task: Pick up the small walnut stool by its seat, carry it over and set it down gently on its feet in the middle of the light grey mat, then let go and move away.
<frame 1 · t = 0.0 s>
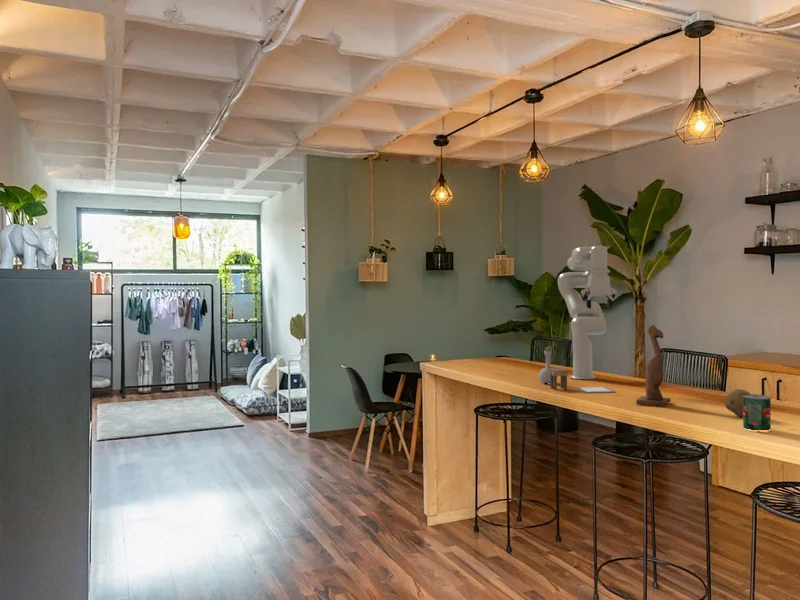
hand: (599, 308, 301), 37 cm above the table, tool pointing down, fingers open, 9 cm apart
bird sculpture: (653, 404, 254), on the table
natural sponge: (738, 417, 228), on the table
potion bottle: (548, 383, 311), on the table
stool: (558, 388, 294), on the table
mat: (595, 390, 288), on the table
canned tomato: (756, 430, 208), on the table
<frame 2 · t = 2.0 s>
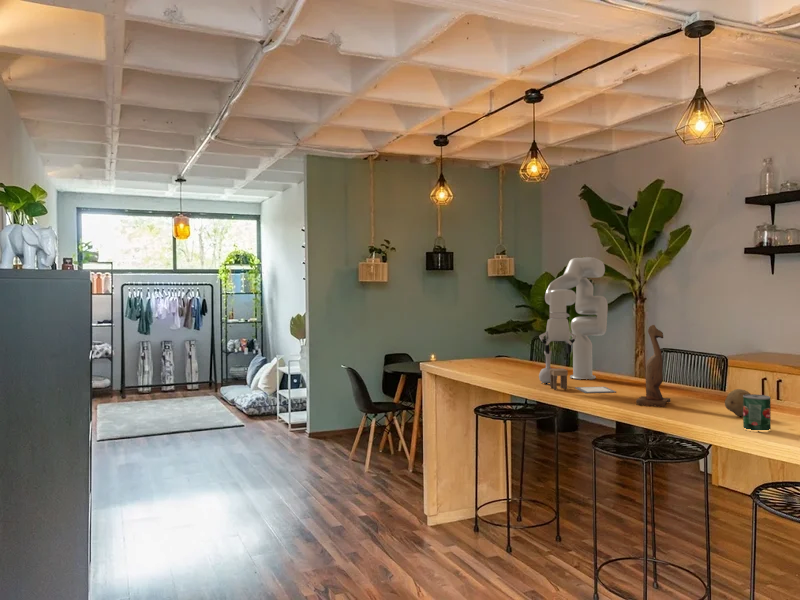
hand: (558, 353, 293), 16 cm above the table, tool pointing down, fingers open, 9 cm apart
nothing on the table moved.
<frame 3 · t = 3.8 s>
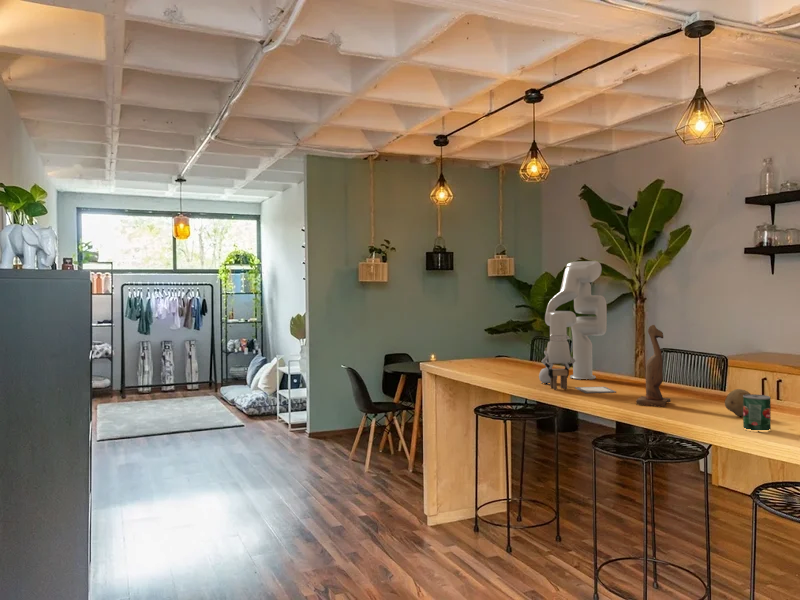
hand: (558, 377, 293), 5 cm above the table, tool pointing down, fingers closed on stool, 6 cm apart
stool: (558, 388, 294), on the table, touching gripper
everything else where it was.
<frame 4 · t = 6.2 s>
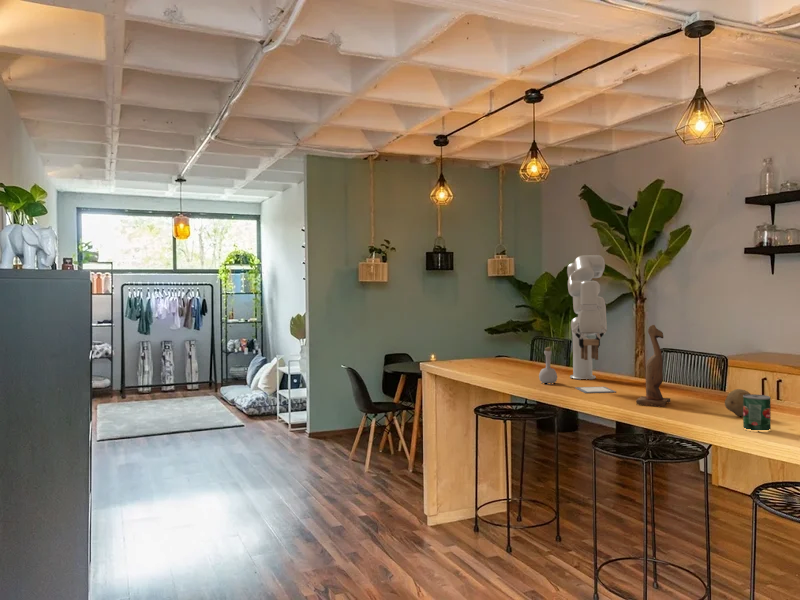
hand: (589, 347, 289), 20 cm above the table, tool pointing down, fingers closed on stool, 6 cm apart
stool: (589, 359, 289), point 14 cm above the table, touching gripper
everything else where it was.
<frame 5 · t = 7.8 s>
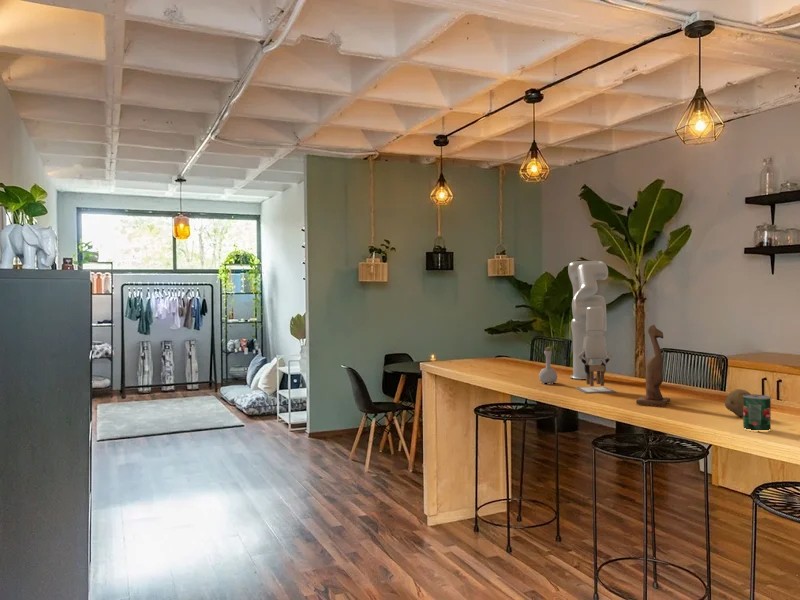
hand: (595, 372, 288), 8 cm above the table, tool pointing down, fingers closed on stool, 6 cm apart
stool: (595, 384, 288), point 2 cm above the table, touching gripper
everything else where it was.
when the fingers open (7 cm above the table, at t = 8.8 s): stool drops 1 cm, resting on mat.
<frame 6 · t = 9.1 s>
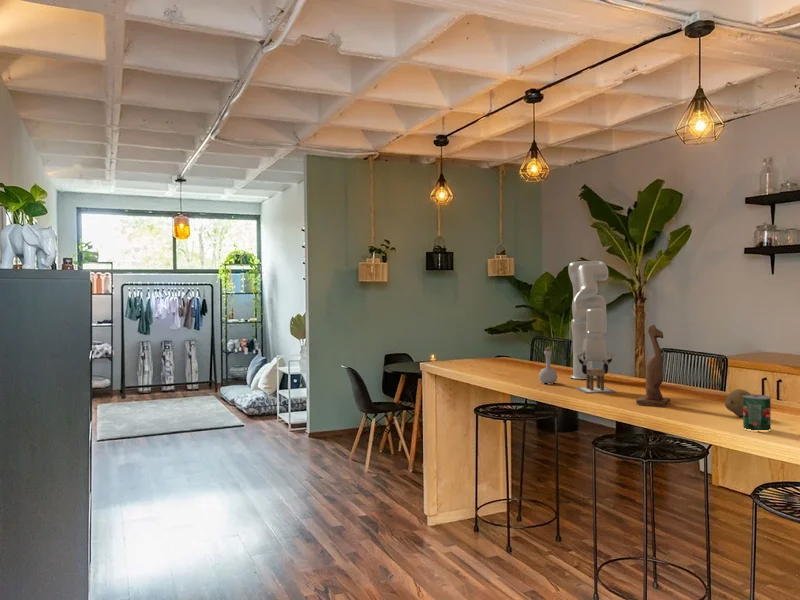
hand: (595, 373, 288), 8 cm above the table, tool pointing down, fingers open, 9 cm apart
stool: (595, 389, 288), resting on mat
everything else where it was.
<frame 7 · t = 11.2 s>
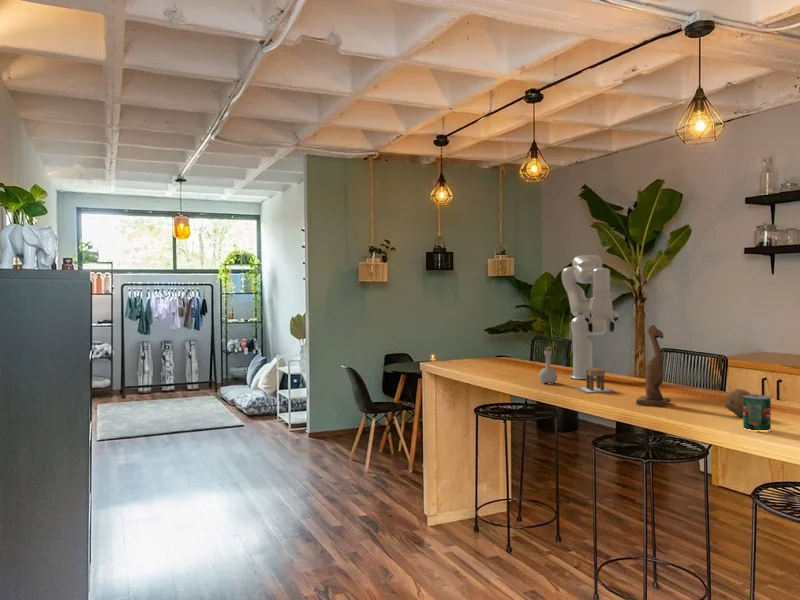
hand: (601, 331, 295), 26 cm above the table, tool pointing down, fingers open, 9 cm apart
nothing on the table moved.
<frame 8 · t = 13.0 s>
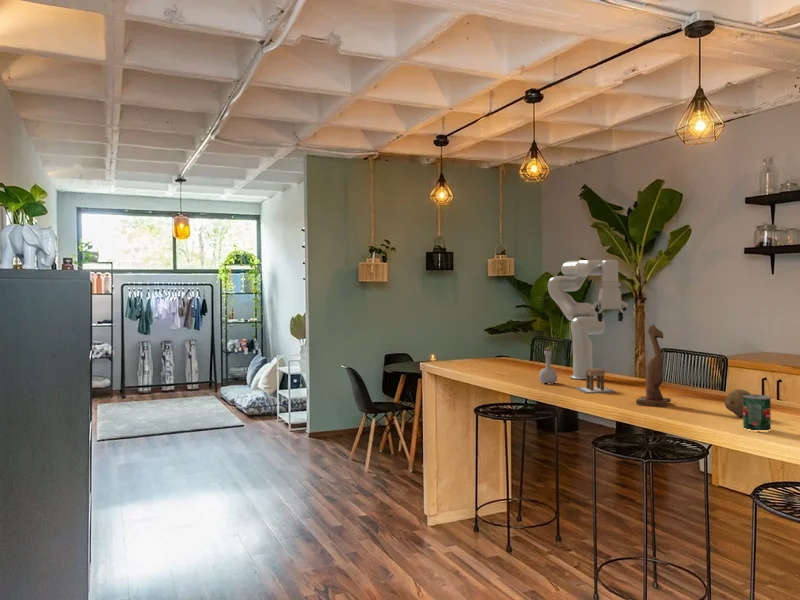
hand: (610, 321, 303), 30 cm above the table, tool pointing down, fingers open, 9 cm apart
nothing on the table moved.
at the end: stool inside the target area on the mat (0.0 cm from its centre), point 0.5 cm above the mat's base; stool tilted 0°; the gripper is holding nothing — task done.
